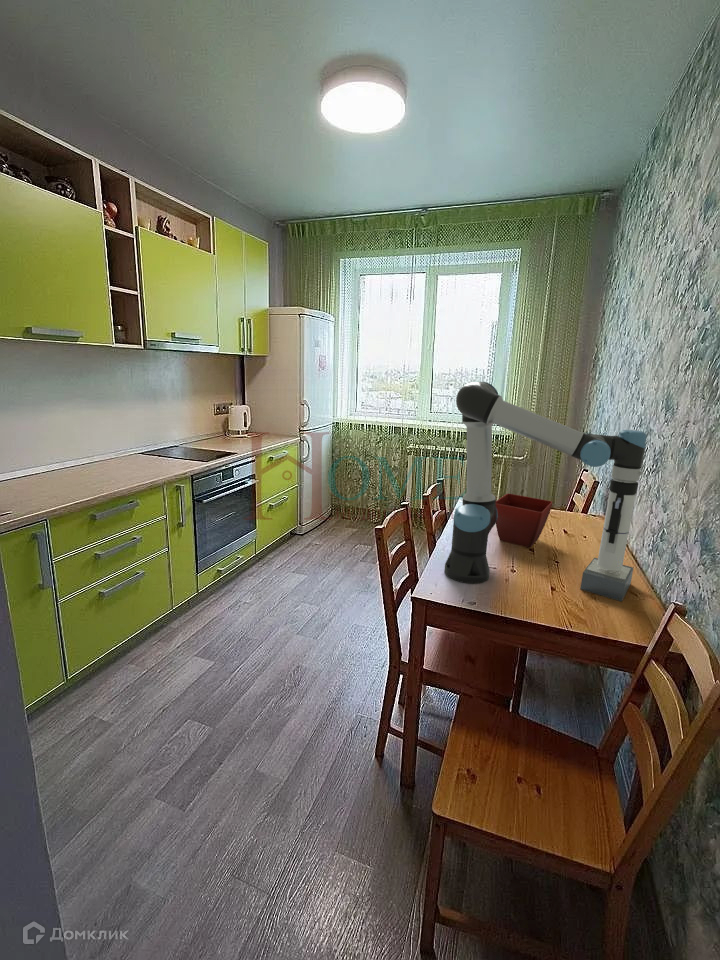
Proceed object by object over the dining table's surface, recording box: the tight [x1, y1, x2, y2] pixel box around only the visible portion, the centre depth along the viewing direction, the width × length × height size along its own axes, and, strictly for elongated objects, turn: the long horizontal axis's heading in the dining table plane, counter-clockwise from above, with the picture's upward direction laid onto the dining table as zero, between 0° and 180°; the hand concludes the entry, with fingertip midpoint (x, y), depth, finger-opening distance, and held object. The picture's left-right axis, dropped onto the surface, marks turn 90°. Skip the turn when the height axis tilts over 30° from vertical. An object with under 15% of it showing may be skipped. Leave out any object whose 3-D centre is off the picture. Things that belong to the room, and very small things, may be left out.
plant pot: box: [495, 493, 553, 548], centre depth 184 cm, size 19×19×17 cm
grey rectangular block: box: [579, 557, 634, 603], centre depth 146 cm, size 16×12×6 cm
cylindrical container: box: [597, 490, 637, 571], centre depth 142 cm, size 7×7×25 cm
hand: (612, 548), depth 144 cm, fingers closed on cylindrical container, 7 cm apart
